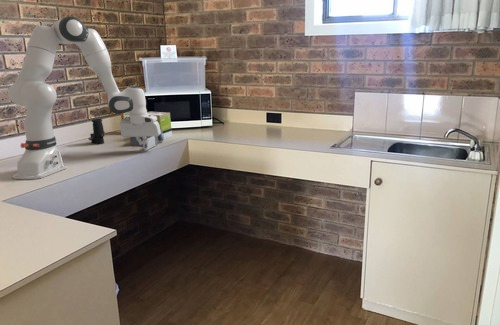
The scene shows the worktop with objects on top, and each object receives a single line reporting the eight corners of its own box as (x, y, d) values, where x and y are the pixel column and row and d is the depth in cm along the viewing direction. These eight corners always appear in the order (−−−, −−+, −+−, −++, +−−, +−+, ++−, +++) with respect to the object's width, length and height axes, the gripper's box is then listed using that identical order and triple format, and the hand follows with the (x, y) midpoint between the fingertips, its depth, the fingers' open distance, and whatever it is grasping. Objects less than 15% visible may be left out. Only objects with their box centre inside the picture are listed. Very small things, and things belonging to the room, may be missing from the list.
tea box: (141, 138, 239) (138, 113, 235) (153, 135, 247) (150, 111, 243) (161, 140, 232) (159, 114, 228) (172, 136, 240) (170, 111, 236)
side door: (157, 144, 220) (156, 135, 219) (146, 151, 208) (145, 141, 206) (153, 144, 221) (152, 135, 219) (142, 151, 208) (141, 141, 207)
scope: (98, 117, 235) (107, 118, 228) (101, 140, 238) (110, 142, 232) (84, 119, 229) (93, 121, 222) (88, 143, 233) (97, 145, 226)
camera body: (159, 145, 220) (157, 132, 218) (131, 145, 223) (129, 132, 221) (166, 140, 232) (165, 127, 230) (139, 140, 234) (138, 128, 232)
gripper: (116, 120, 205) (120, 146, 209) (155, 118, 202) (159, 145, 206) (122, 117, 211) (125, 143, 215) (160, 116, 208) (163, 142, 212)
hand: (142, 144), depth 211 cm, fingers closed
